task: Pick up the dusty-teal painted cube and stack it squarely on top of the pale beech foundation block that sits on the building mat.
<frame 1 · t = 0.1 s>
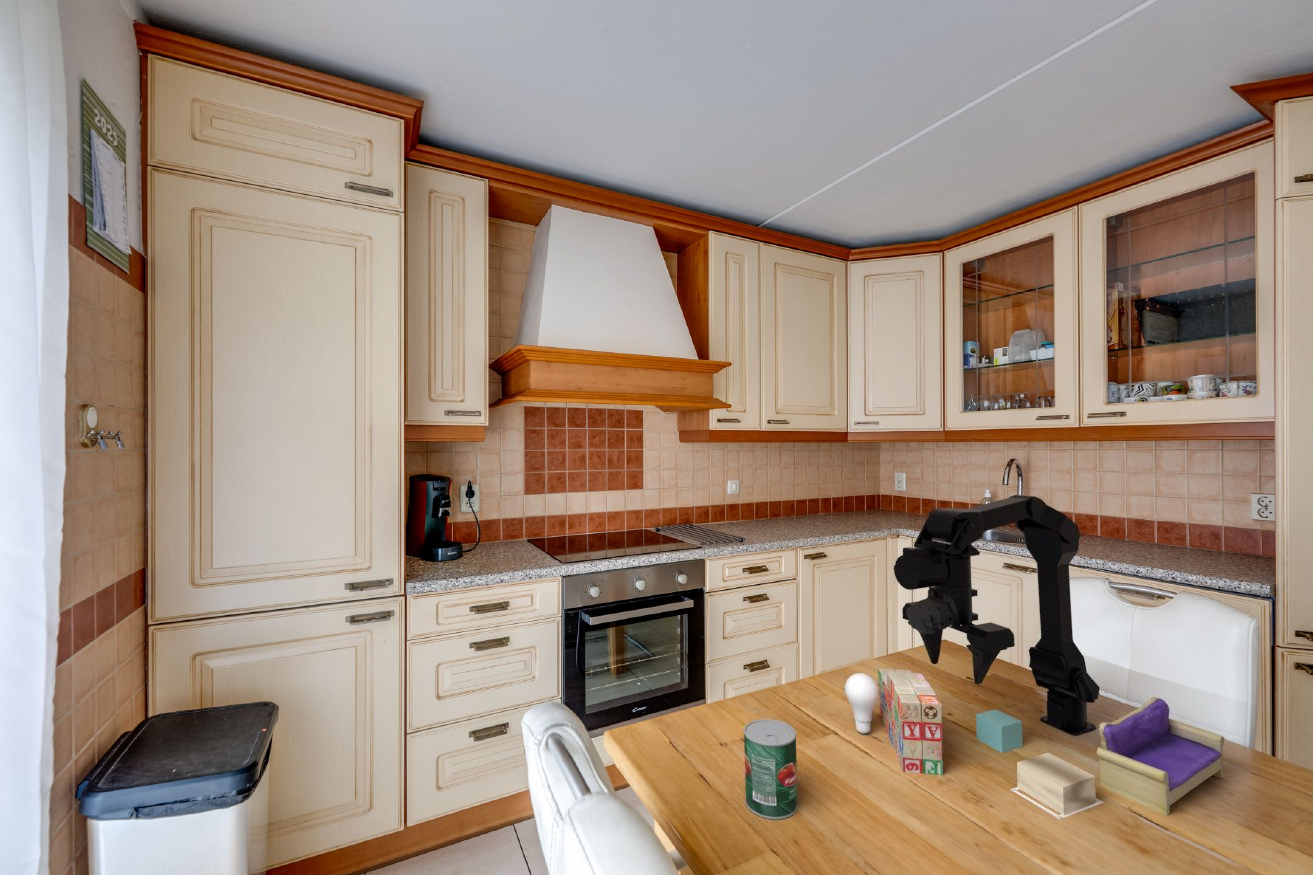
hand: (955, 673, 98), 14 cm above the table, fingers open, 9 cm apart
stack of blocks: (908, 744, 103), on the table
toy sofa: (1162, 785, 90), on the table
lightbulb: (863, 734, 107), on the table
foundation block: (1055, 795, 86), resting on building mat
canned tomato: (771, 804, 87), on the table
building mat: (1049, 794, 87), on the table
teal block: (999, 745, 102), on the table
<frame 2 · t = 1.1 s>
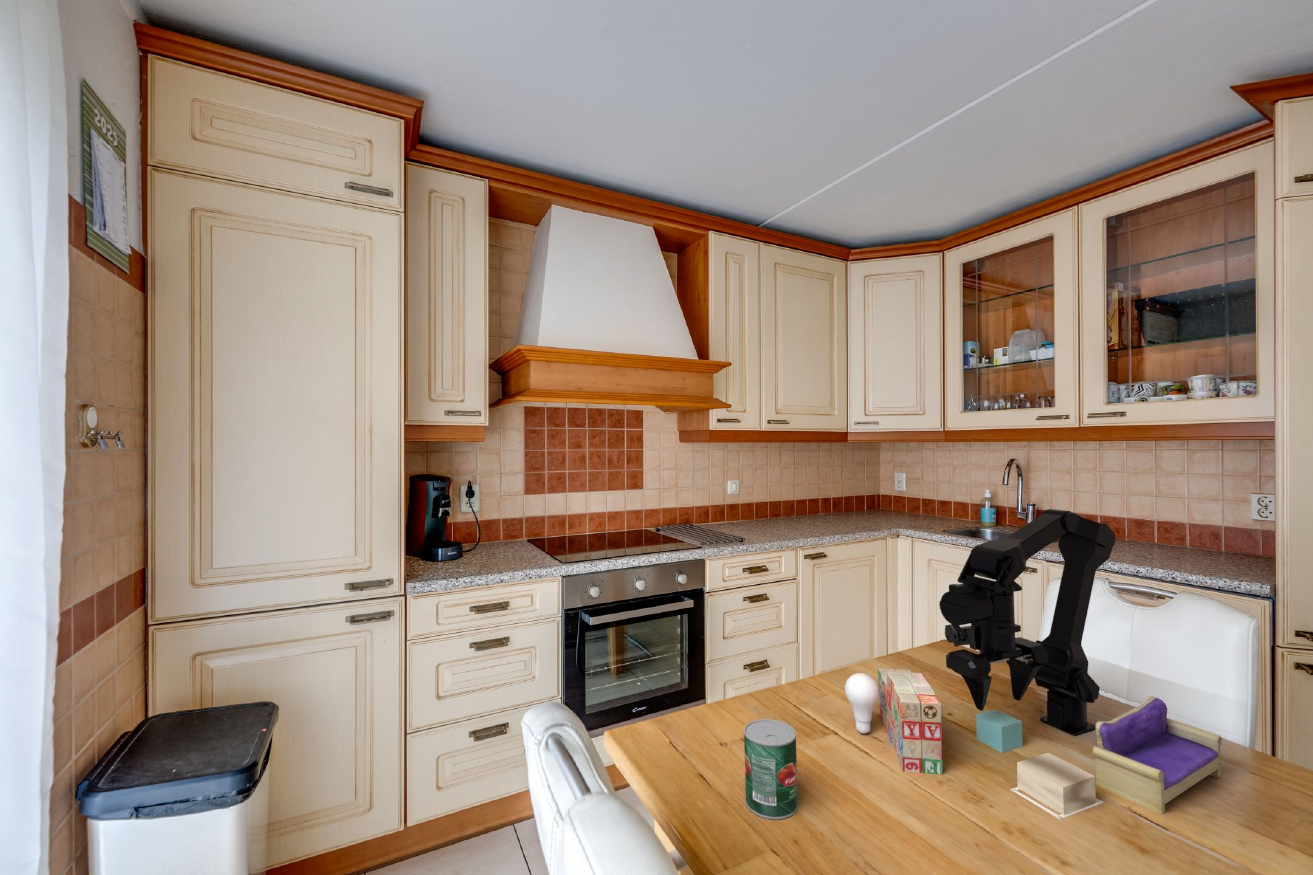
hand: (998, 704, 102), 7 cm above the table, fingers open, 9 cm apart
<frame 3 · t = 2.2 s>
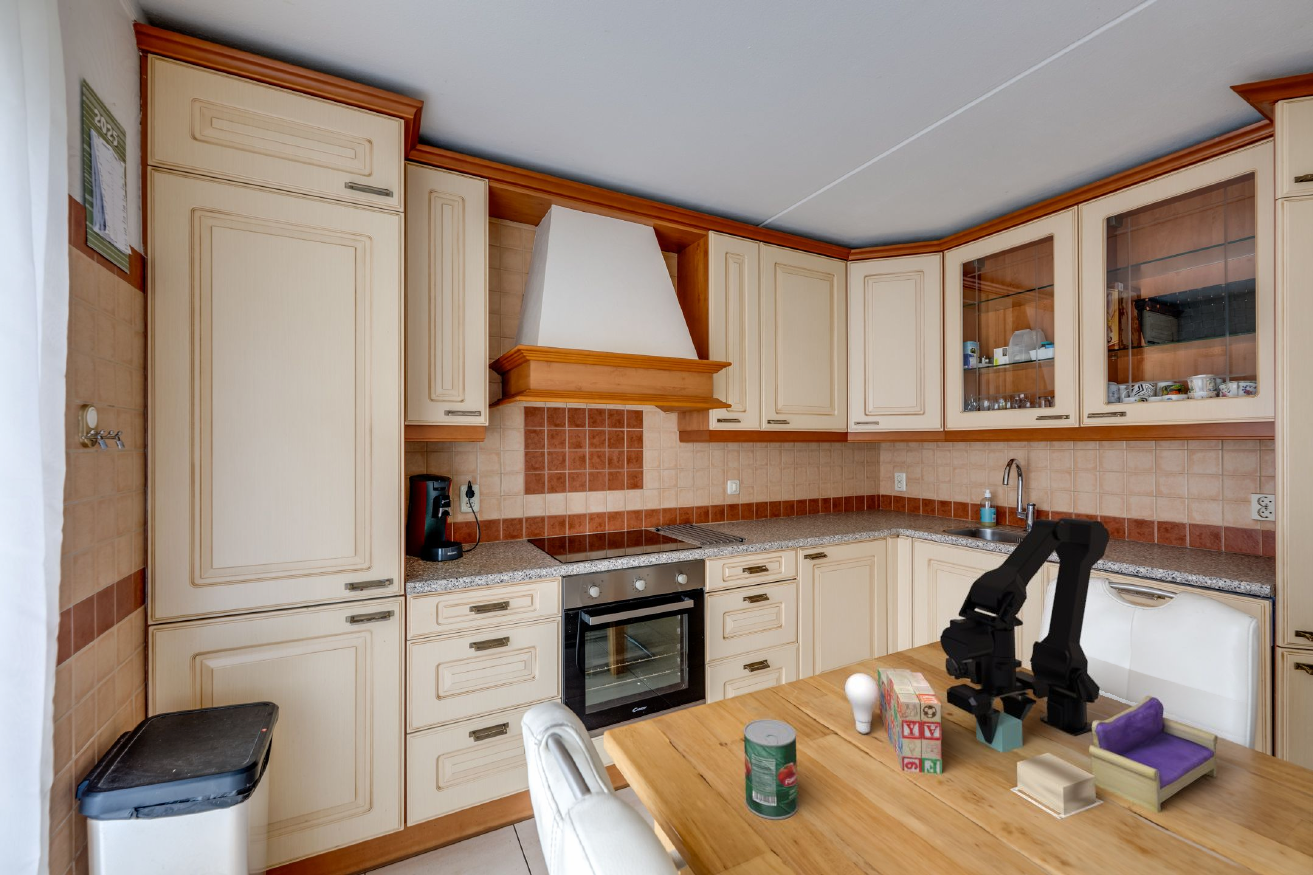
hand: (999, 739, 102), 1 cm above the table, fingers closed on teal block, 5 cm apart
teal block: (999, 745, 102), on the table, touching gripper
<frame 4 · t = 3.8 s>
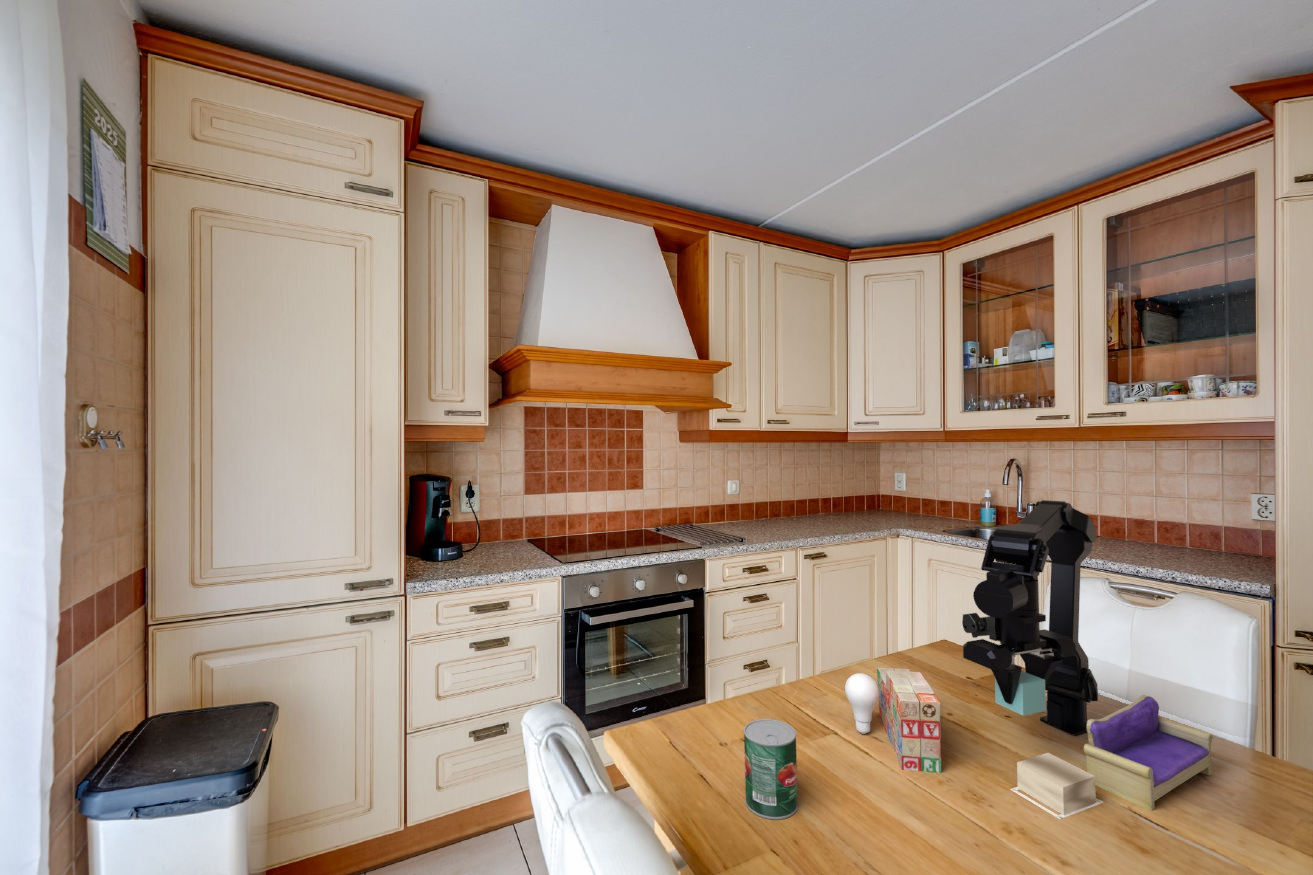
hand: (1020, 700, 94), 11 cm above the table, fingers closed on teal block, 5 cm apart
teal block: (1020, 706, 94), point 10 cm above the table, touching gripper
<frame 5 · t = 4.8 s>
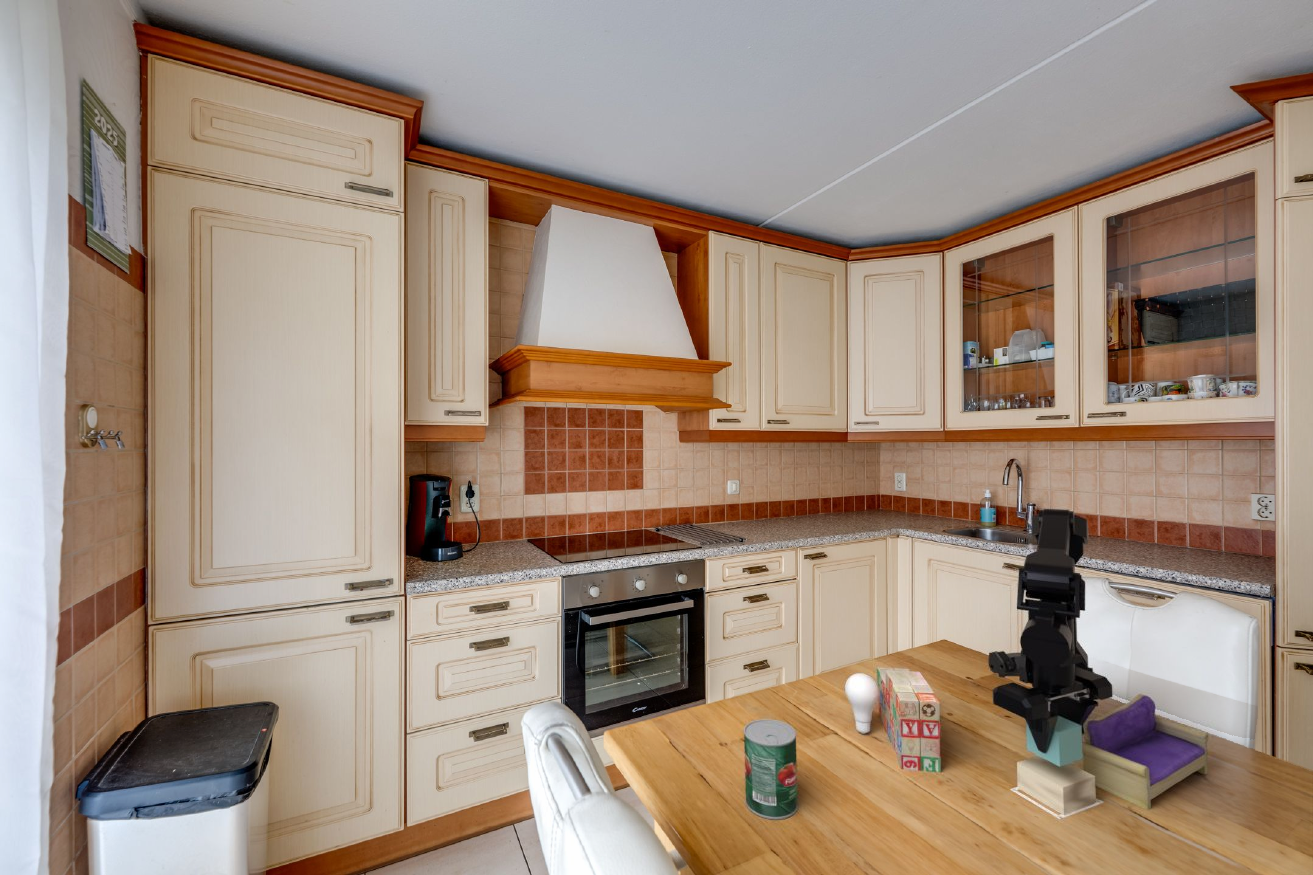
hand: (1054, 747, 87), 8 cm above the table, fingers closed on teal block, 5 cm apart
teal block: (1054, 754, 87), point 7 cm above the table, touching gripper
when the fingers open (7 cm above the table, at t = 5.4 s): teal block drops 1 cm, resting on foundation block.
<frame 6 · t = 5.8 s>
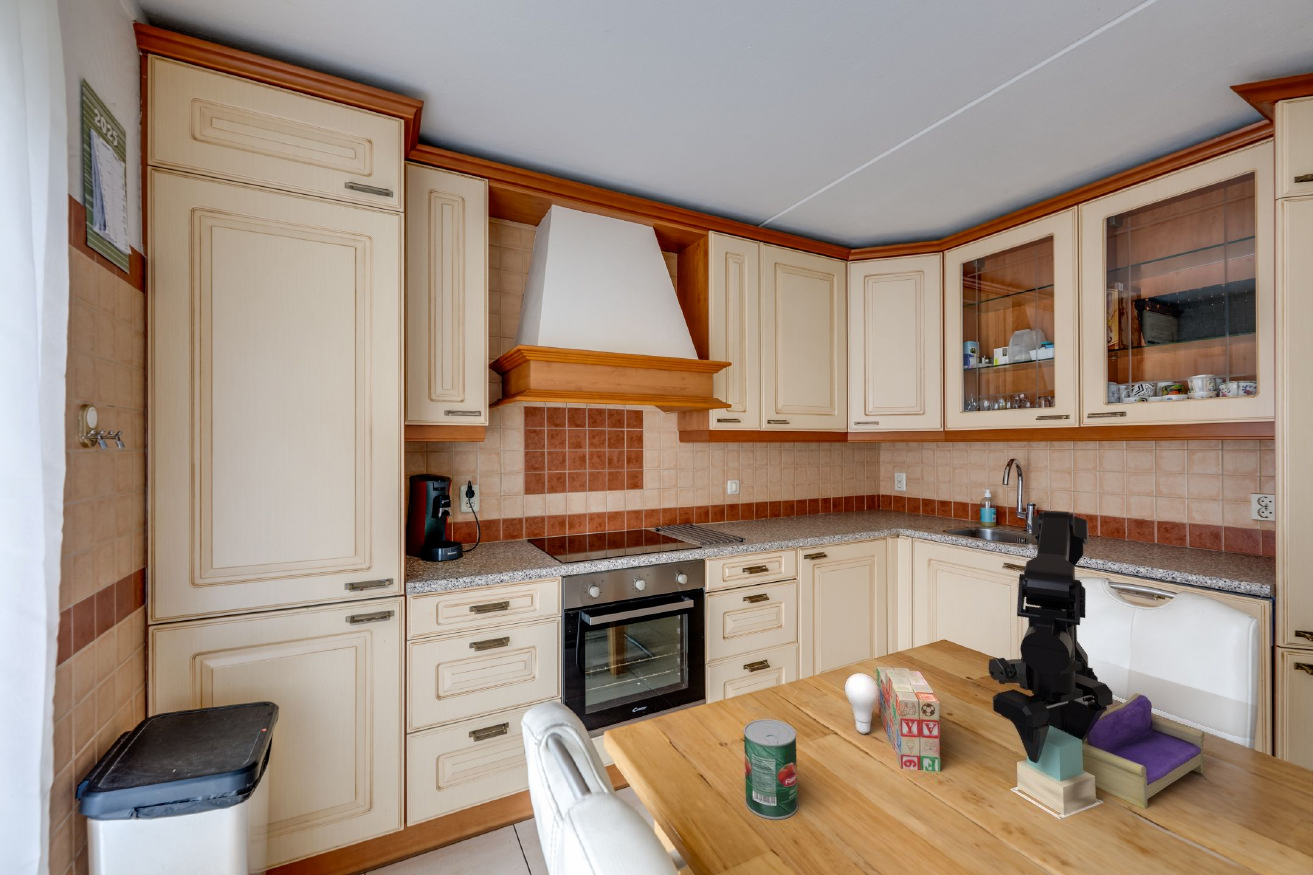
hand: (1054, 754, 86), 7 cm above the table, fingers open, 9 cm apart
foundation block: (1055, 795, 86), resting on building mat, touching teal block
teal block: (1054, 768, 87), point 4 cm above the table, touching foundation block
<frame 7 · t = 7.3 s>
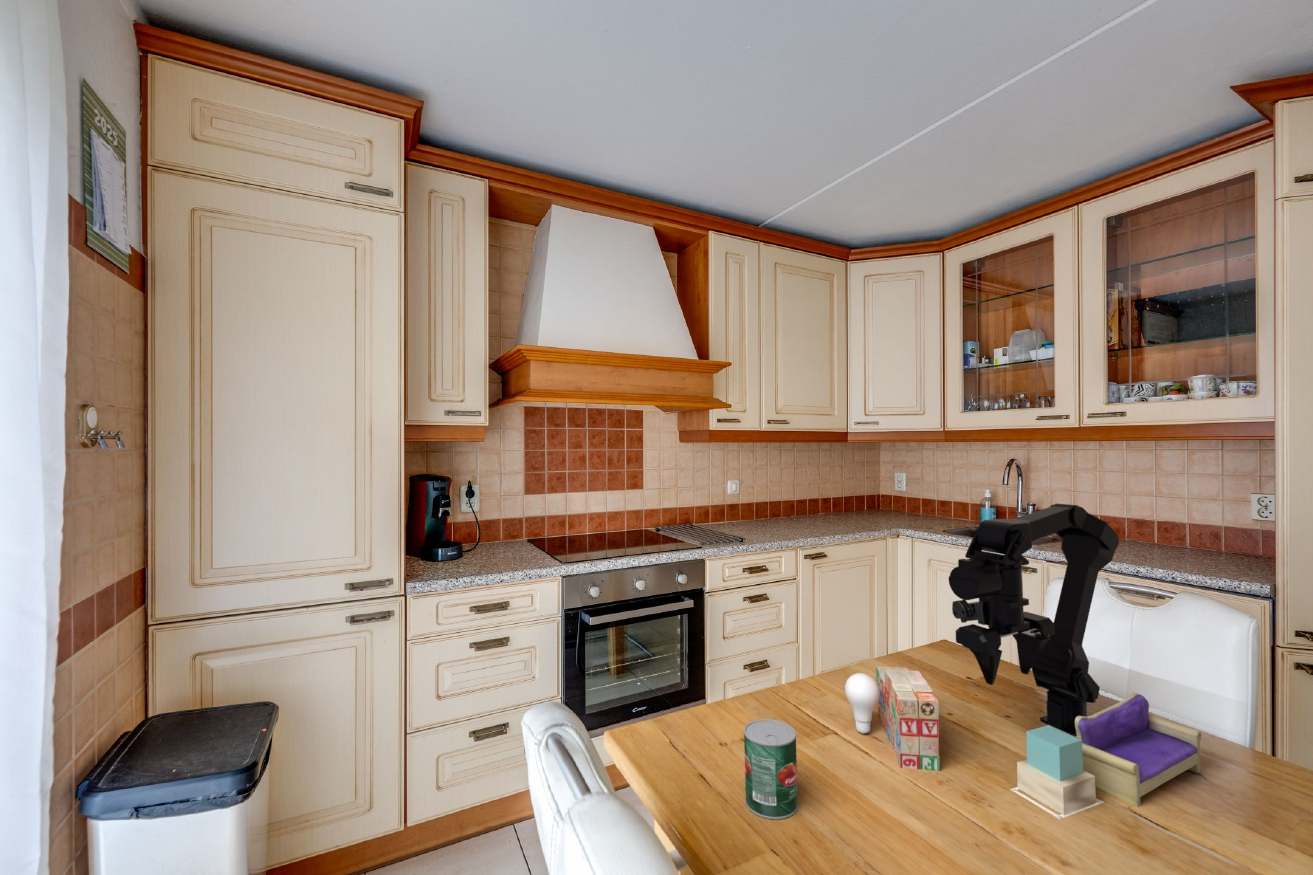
hand: (1007, 678, 102), 12 cm above the table, fingers open, 9 cm apart
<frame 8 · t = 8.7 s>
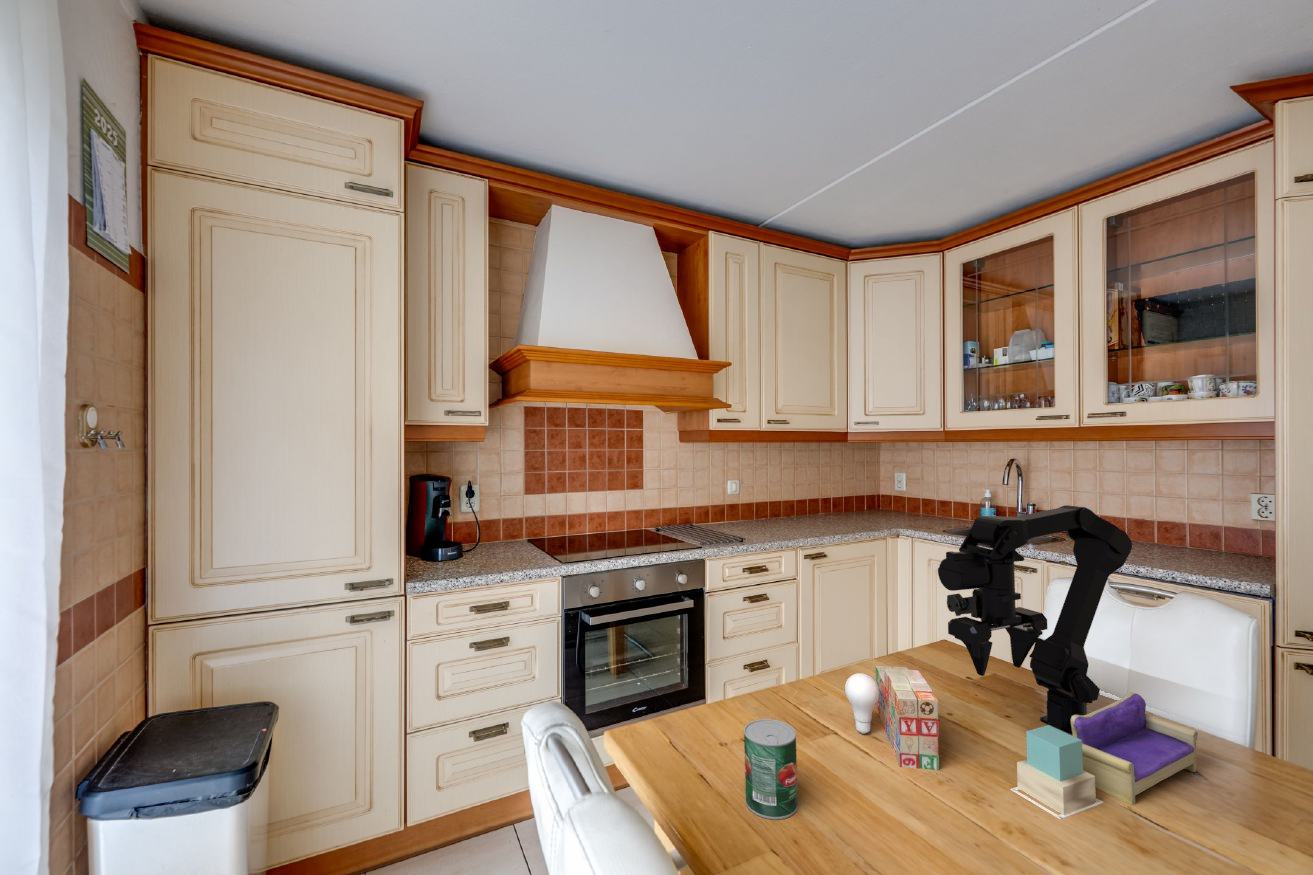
hand: (999, 670, 105), 12 cm above the table, fingers open, 9 cm apart
at the end: teal block 0.1 cm off-centre on the foundation block, point 4.0 cm above the foundation block's base; teal block tilted 0°; foundation block moved 0.1 cm from its start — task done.
